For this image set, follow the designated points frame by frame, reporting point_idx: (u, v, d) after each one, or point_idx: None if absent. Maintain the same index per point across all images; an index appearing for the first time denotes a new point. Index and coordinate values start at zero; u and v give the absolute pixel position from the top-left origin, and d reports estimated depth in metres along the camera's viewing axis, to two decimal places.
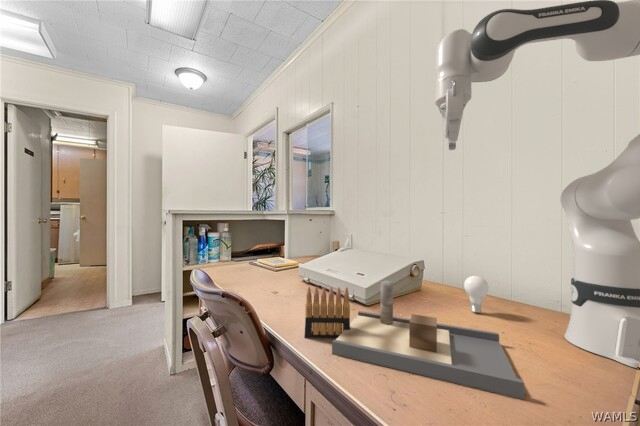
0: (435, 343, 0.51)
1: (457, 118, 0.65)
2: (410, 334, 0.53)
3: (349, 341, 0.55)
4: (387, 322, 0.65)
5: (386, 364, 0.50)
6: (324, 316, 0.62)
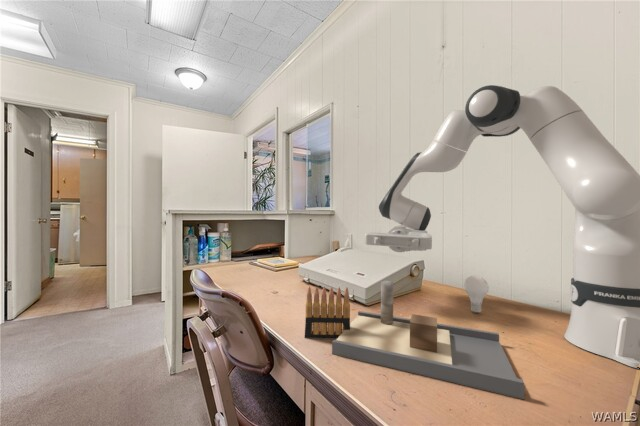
0: (435, 343, 0.51)
1: (372, 237, 0.84)
2: (410, 334, 0.53)
3: (349, 341, 0.55)
4: (387, 322, 0.64)
5: (386, 364, 0.50)
6: (324, 316, 0.62)
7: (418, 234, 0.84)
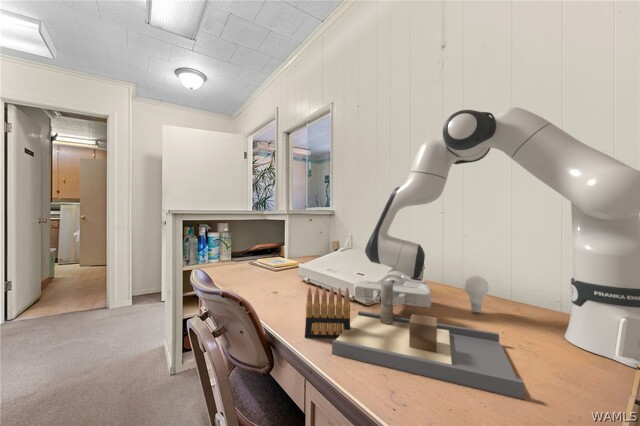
0: (435, 343, 0.51)
1: (361, 290, 0.73)
2: (410, 334, 0.53)
3: (349, 341, 0.55)
4: (387, 322, 0.65)
5: (386, 364, 0.50)
6: (324, 316, 0.61)
7: (415, 285, 0.72)
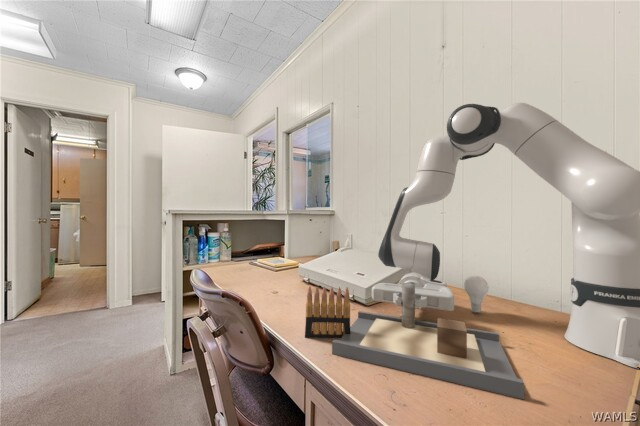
0: (465, 349, 0.49)
1: (380, 292, 0.70)
2: (438, 339, 0.51)
3: (373, 346, 0.53)
4: (409, 325, 0.62)
5: (386, 364, 0.50)
6: (324, 316, 0.62)
7: (436, 288, 0.70)
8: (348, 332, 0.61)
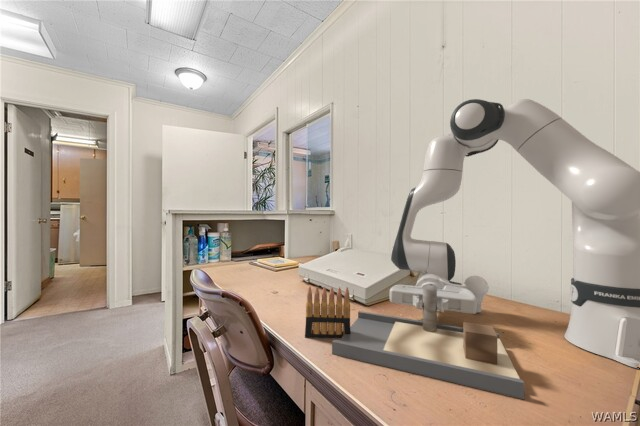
0: (496, 354, 0.47)
1: (399, 294, 0.68)
2: (466, 344, 0.49)
3: (398, 351, 0.51)
4: (431, 329, 0.60)
5: (386, 364, 0.50)
6: (324, 316, 0.62)
7: (456, 290, 0.68)
8: (348, 332, 0.61)
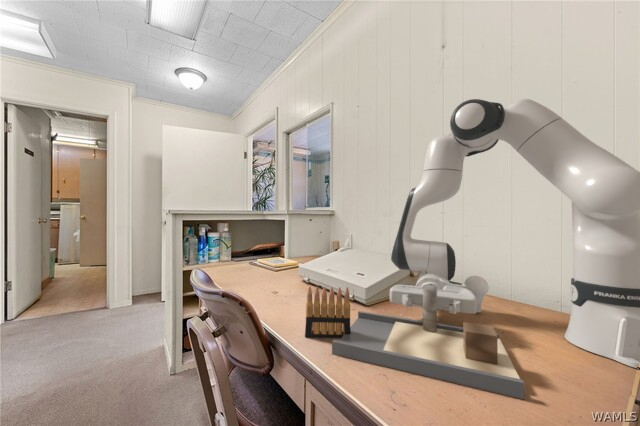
0: (496, 354, 0.47)
1: (399, 294, 0.68)
2: (466, 344, 0.49)
3: (398, 351, 0.51)
4: (431, 329, 0.60)
5: (386, 364, 0.50)
6: (324, 316, 0.62)
7: (456, 290, 0.68)
8: (348, 332, 0.61)
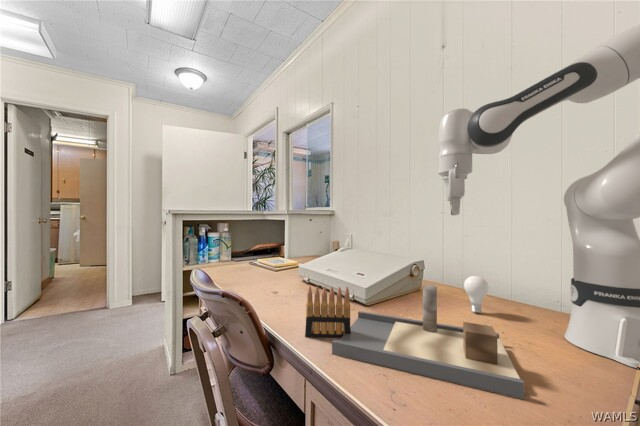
0: (496, 354, 0.47)
1: (459, 196, 0.70)
2: (466, 344, 0.49)
3: (398, 351, 0.51)
4: (431, 329, 0.60)
5: (386, 364, 0.50)
6: (324, 315, 0.62)
7: None
8: (348, 332, 0.62)
